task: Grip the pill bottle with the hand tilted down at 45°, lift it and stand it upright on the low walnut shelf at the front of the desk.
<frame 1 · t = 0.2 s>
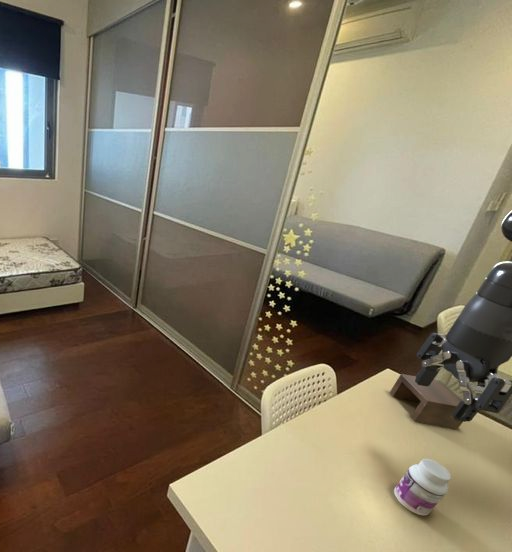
hand: (438, 400, 58), 20 cm above the table, tool pointing down, fingers open, 8 cm apart
shelf: (421, 410, 85), on the table
pill bottle: (409, 502, 61), on the table
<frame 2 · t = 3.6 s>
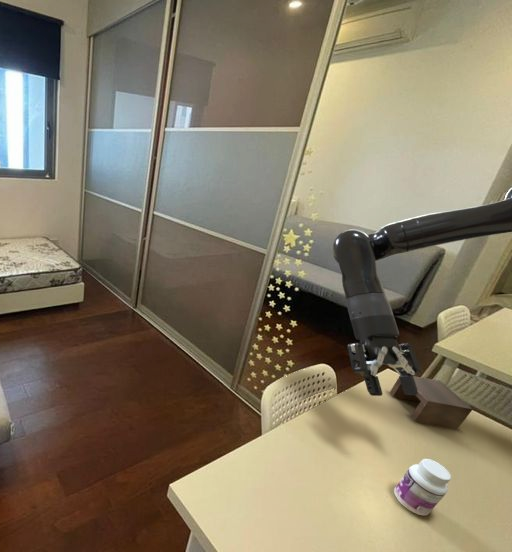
hand: (394, 395, 65), 16 cm above the table, tool tilted 45°, fingers open, 8 cm apart
nothing on the table moved.
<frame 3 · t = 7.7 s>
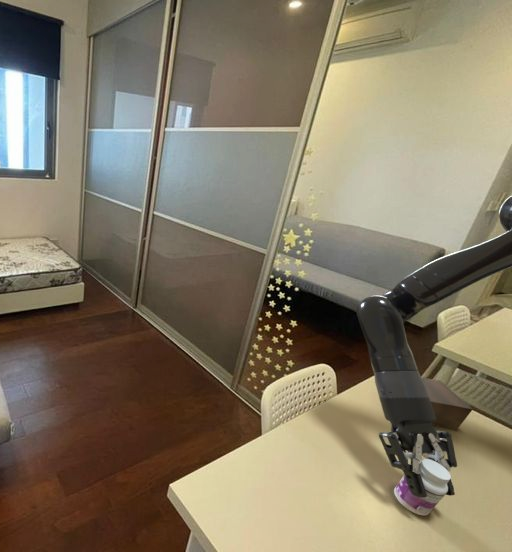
hand: (433, 494, 57), 5 cm above the table, tool tilted 45°, fingers closed on pill bottle, 5 cm apart
pill bottle: (409, 502, 61), on the table, touching gripper
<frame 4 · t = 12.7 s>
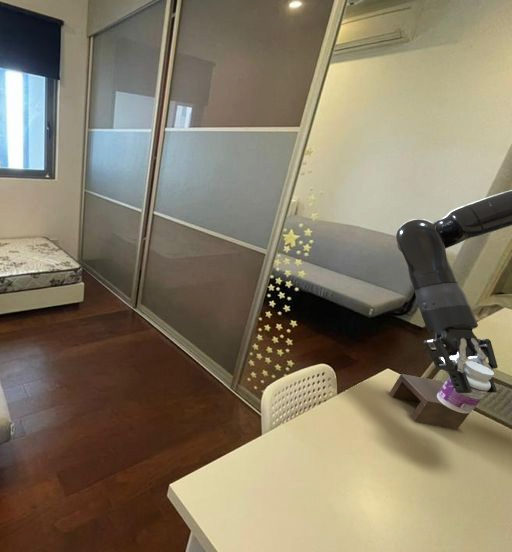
hand: (476, 392, 62), 20 cm above the table, tool tilted 45°, fingers closed on pill bottle, 5 cm apart
pill bottle: (452, 404, 66), point 15 cm above the table, touching gripper
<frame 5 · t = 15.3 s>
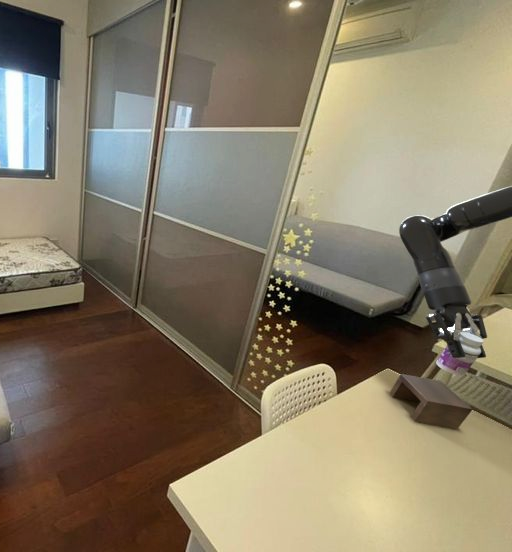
hand: (469, 357, 75), 19 cm above the table, tool tilted 45°, fingers closed on pill bottle, 5 cm apart
pill bottle: (449, 369, 78), point 14 cm above the table, touching gripper
when the fingers open (12 cm above the table, at t = 17.8 s): pill bottle stays where it is, resting on shelf.
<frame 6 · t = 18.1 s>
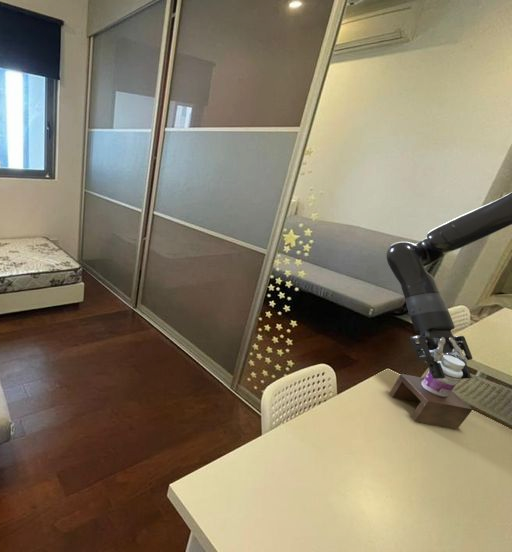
hand: (452, 378, 78), 12 cm above the table, tool tilted 45°, fingers open, 7 cm apart
pill bottle: (433, 390, 82), point 7 cm above the table, touching shelf
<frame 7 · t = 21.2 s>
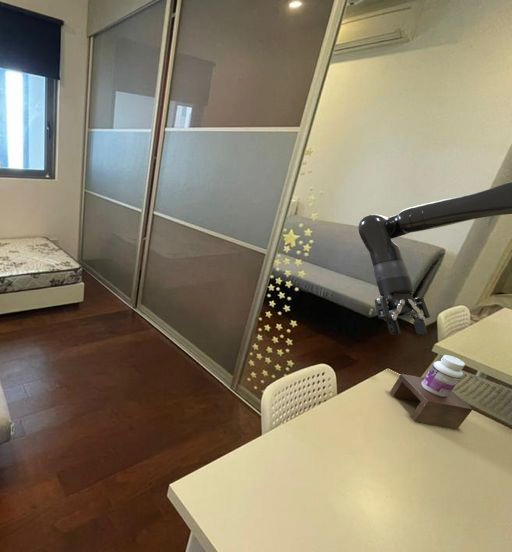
hand: (409, 334, 88), 16 cm above the table, tool tilted 40°, fingers open, 8 cm apart
nothing on the table moved.
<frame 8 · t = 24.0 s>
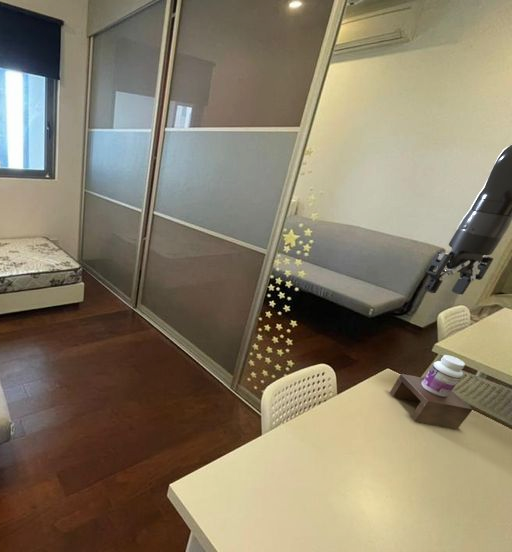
hand: (443, 292, 82), 30 cm above the table, tool pointing down, fingers open, 8 cm apart
nothing on the table moved.
at the end: pill bottle inside the target area on the shelf (0.2 cm from its centre), point 6.8 cm above the shelf's base; pill bottle tilted 0°; the gripper is holding nothing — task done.
